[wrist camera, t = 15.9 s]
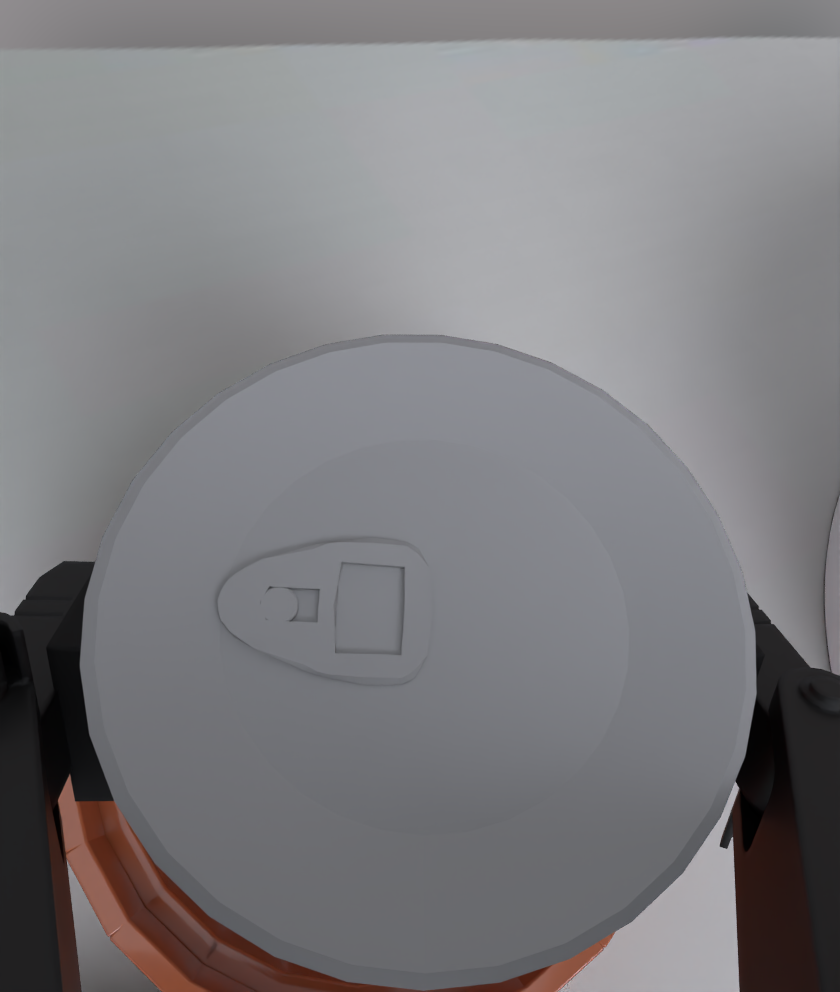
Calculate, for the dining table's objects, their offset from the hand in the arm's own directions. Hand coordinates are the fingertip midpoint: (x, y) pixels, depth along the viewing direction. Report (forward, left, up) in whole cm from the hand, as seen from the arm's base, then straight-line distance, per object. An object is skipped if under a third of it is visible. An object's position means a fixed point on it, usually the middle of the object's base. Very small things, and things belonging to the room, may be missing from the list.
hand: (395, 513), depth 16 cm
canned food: (+1, -3, -4) cm, 6 cm away
